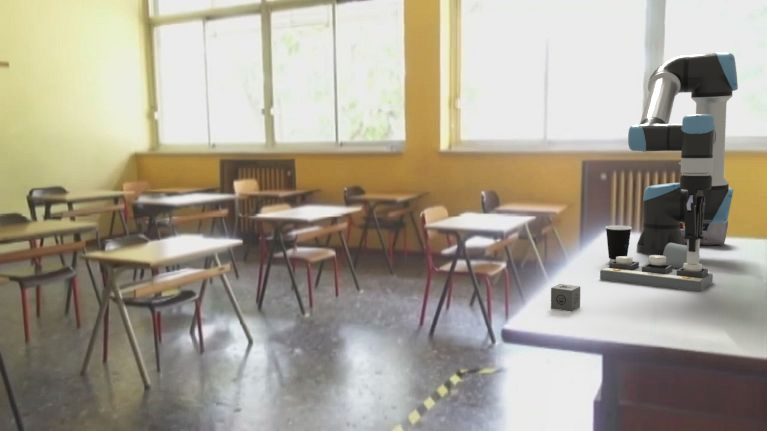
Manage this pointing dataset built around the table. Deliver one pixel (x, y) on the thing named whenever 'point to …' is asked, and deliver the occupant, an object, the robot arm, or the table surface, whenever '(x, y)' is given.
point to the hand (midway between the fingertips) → (692, 263)
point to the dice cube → (565, 297)
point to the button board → (657, 276)
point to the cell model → (710, 233)
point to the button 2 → (692, 267)
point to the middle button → (657, 260)
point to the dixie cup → (618, 241)
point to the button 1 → (624, 260)
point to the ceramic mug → (675, 255)
